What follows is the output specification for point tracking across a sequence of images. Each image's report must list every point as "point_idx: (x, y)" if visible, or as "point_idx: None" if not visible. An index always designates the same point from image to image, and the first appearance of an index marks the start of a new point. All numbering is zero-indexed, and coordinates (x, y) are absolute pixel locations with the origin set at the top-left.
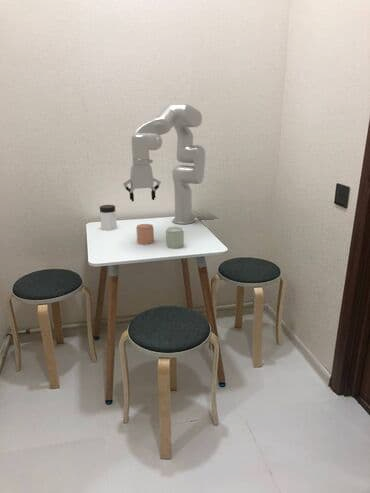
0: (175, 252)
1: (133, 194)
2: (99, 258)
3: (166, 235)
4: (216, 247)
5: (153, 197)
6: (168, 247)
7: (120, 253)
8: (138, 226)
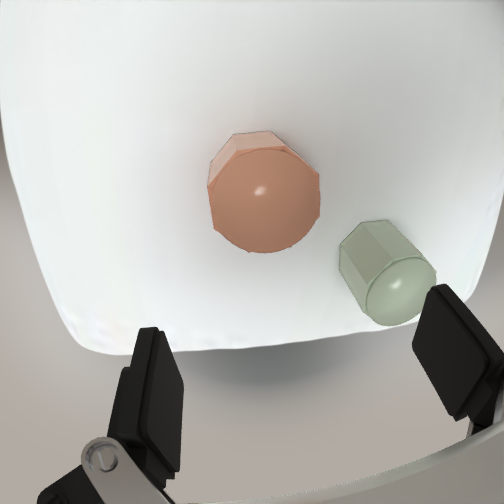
0: (346, 318)
1: (179, 458)
2: (84, 328)
3: (357, 278)
4: (466, 288)
5: (427, 367)
6: (340, 271)
7: (143, 301)
8: (222, 207)
